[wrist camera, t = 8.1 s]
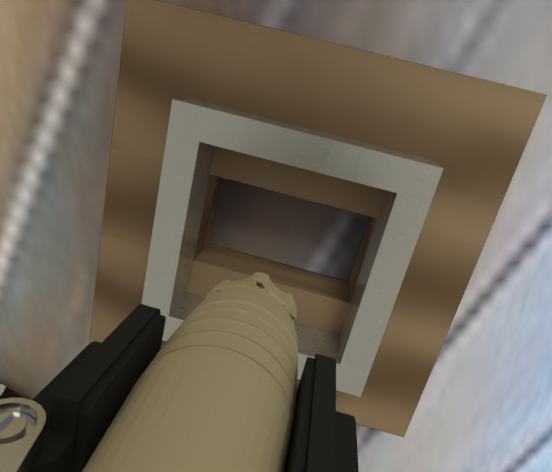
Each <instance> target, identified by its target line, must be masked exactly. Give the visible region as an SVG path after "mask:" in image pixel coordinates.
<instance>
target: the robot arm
mask: <svg viewBox="0 0 552 472" xmlns="http://www.w3.org/2000/svg"><path fill="white" fill-rule="evenodd" d="M160 314H161V312H160V309H158V308H154V307H151V306H147V305H144V304H139V305H138V306H137V307H136V308H135V309H134V310H133V311H132V312H131V313H130V314H129V315H128V316H127V317H126V318H125V319H124V320H123V321H122V322H121V323H120V324H119V325H118V326H117V327H116V329H115V330H114V331H113V332H112V333H111V334H110V335H109V336H108V337H107V338H106V339H105V340H104V341H103V342H102V343H101V342H97V341H93V342H91V343H90V344H89V345H88V346H87V347H86V348H85V349H84V350H83V351H82V352H81V353H80V354H79V355H77V356H76V357H75V358H74V359H73V360H72V361H71V362H70V363H69V364H68V365H67V366H66V367H65V368H64V369H63V370H62V371H61V372H60V373H59V374H58V375H57V376H56V377H55V378H54V379H53V380H52V381H51V382H50V383H49V384H48V385H47V386H46V387H45V388H44V389H43V390H42V391H41V392H40V393H39V394H38V395H37V396H36V397H35V398H34V399H33V400H29V399H26V398H5V399H0V472H82V471H83V469H84V467H85V466H86V464H87V463H88V461H89V459H90V458H91V456H92V454H93V453H94V451H95V449H96V448H97V446H98V444H99V443H100V441H101V439H102V438H103V436H104V434H105V433H106V431H107V429H108V428H109V426H110V424H111V423H112V421H113V420H114V418H115V416H116V415H117V413H118V411H119V410H120V408H121V406H122V405H123V403H124V401H125V400H126V398H127V396H128V395H129V393H130V391H131V390H132V388H133V386H134V385H135V383H136V382H137V380H138V379H139V378H140V376H141V375H142V374H143V372H144V371H145V370H146V368H147V367H148V366H149V364H150V363H151V362H152V360H153V359H154V357H155V356H156V355H157V353H158V352H159V351H160V349H161V344H162V338H163V333H164V327H165V321H166V317H165V316H163V315H160ZM284 472H358V455H357V437H356V421H355V417H354V416H352V415H349V414H345V413H342V412H338V411H336V359H334V358H330V357H327V356H323V355H320V354H316V355H315V358H311V357H307V359H306V362H305V366H304V369H303V372H302V376H301V379H300V382H299V385H298V389H297V395H296V405H295V410H294V420H293V427H292V430H291V440H290V446H289V450H288V455H287V459H286V464H285V469H284Z"/></svg>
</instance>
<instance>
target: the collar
mask: <svg viewBox="0 0 552 472" xmlns="http://www.w3.org/2000/svg"><path fill="white" fill-rule="evenodd" d="M215 146H218V147H222V148H225V149H229V150H233V151H237V152H241V153H245V154H249V155H252V156H256V157H260V158H264V159H268V160H272V161H275V162H279V163H283V164H287V165H291V166H295V167H299V168H302V169H306V170H310V171H314V172H318V173H322V174H325V175H329V176H333V177H337V178H341V179H345V180H348V181H352V182H356V183H360V184H364V185H368V186H372V187H375V188H379V189H383V190H387V191H386V194H385V197H384V200H383V203H382V206H381V209H380V212H379V215H378V218H377V221H376V224H375V227H374V230H373V233H372V237H371V240H370V243H369V246H368V249H367V252H366V255H365V258H364V261H363V264H362V267H361V270H360V273H359V276H358V280H357V283H356V286H355V289H354V292H353V295H352V298H351V301H350V304H349V307H348V310H347V313H346V316H345V319H344V322H343V326H342V329H341V332H340V334H337V333H334V332H330V331H327V330H323V329H320V328H316V327H312V326H309V325H305V324H302V323H298V322H295V321H294V326H295V331H296V337H297V343H298V379H299V380H300V379H301V376H302V372H303V369H304V366H305V362H306V359H307V357H311V358H315V355H316V354H320V355H323V356H327V357H330V358H334V359H336V390H337V391H341V392H344V393H348V394H351V395H355V396H358V397H361V394H362V392H363V389H364V386H365V383H366V381H367V378H368V375H369V372H370V370H371V367H372V364H373V361H374V359H375V356H376V353H377V350H378V348H379V345H380V342H381V339H382V337H383V334H384V331H385V328H386V326H387V323H388V320H389V317H390V315H391V312H392V309H393V306H394V303H395V301H396V298H397V295H398V292H399V290H400V287H401V284H402V281H403V279H404V276H405V273H406V270H407V268H408V265H409V262H410V259H411V257H412V254H413V251H414V248H415V246H416V243H417V240H418V237H419V235H420V232H421V229H422V226H423V224H424V221H425V218H426V215H427V213H428V210H429V207H430V204H431V202H432V199H433V196H434V193H435V191H436V188H437V185H438V182H439V180H440V177H441V174H442V171H443V169H444V168H442V167H441V166H439V165H438V164H436V163H435V162H433V161H431V160H430V159H427V158H423V157H419V156H415V155H411V154H407V153H403V152H399V151H395V150H391V149H387V148H383V147H380V146H376V145H372V144H368V143H364V142H360V141H356V140H352V139H348V138H344V137H340V136H336V135H332V134H328V133H325V132H321V131H317V130H313V129H309V128H305V127H301V126H297V125H293V124H289V123H285V122H281V121H277V120H274V119H270V118H266V117H262V116H258V115H254V114H250V113H246V112H242V111H238V110H234V109H230V108H226V107H222V106H219V105H215V104H211V103H207V102H203V101H199V100H195V99H172V105H171V112H170V118H169V125H168V131H167V138H166V145H165V151H164V158H163V164H162V171H161V178H160V184H159V191H158V197H157V204H156V211H155V217H154V224H153V230H152V237H151V244H150V250H149V257H148V264H147V270H146V277H145V283H144V290H143V297H142V303H141V304H144V305H147V306H151V307H154V308H158V309H160V312H161V314H160V315H163V316H165V317H166V321H165V327H164V333H163V338H162V340H164V341H167V340H168V339H169V338H170V336H171V335H172V334H173V333H174V332H175V331H176V330H177V328H178V327H179V326H180V325H181V324H182V322H183V321H184V320H185V319H186V318H187V317H188V316H189V315H190V314H191V313H192V312H193V311H194V310H195V309H196V308H197V307H198V306H199V305H200V304H201V303H202V302H203V301H204V298H205V296H202V295H198V294H195V293H191V292H188V287H189V282H190V277H191V271H192V266H193V261H194V255H195V250H196V245H197V239H198V234H199V229H200V223H201V218H202V213H203V207H204V202H205V197H206V192H207V186H208V181H209V176H210V170H211V165H212V160H213V154H214V149H215Z"/></svg>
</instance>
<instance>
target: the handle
mask: <svg viewBox="0 0 552 472" xmlns="http://www.w3.org/2000/svg"><path fill="white" fill-rule="evenodd" d="M296 318H297V308H296V303H295V301H294V298H293V296H292V295H291V294H290V293H285V292H283V291H281V290H280V289H278V288H277V287H276V286H275V285H274V284H273V283H272V281H271V280H270V277H269V275H267V274H265V273H261V272H255V273H254V274H253V275H252V276H250V277H248V278H245V279H243V280H238V281H230V280H224V281H222V282H221V283H219V284H218V285H216V286H215V287H214V288H213V289H212V290H211V291H210V292H209V293H208V294H207V296H206V297H205V298H204V301H203V302H202V303H201V304H200V305H199V306H198V307H197V308H196V309H195V310H194V311H193V312H192V313H191V314H190V315H189V316H188V317H187V318H186V319H185V320H184V321H183V322H182V324H181V325H180V326H179V327H178V328H177V330H176V331H175V332H174V333H173V334H172V335H171V336H170V338H169V339H168V340H167V341H166V343H165V344H164V345H163V347H162V348H161V349H160V351H159V352H158V353H157V355H156V356H155V357H154V359H153V360H152V362H151V363H150V364H149V366H148V367H147V368H146V370H145V371H144V372H143V374H142V375H141V376H140V378H139V379H138V380H137V382H136V383H135V385H134V386H133V388H132V390H131V391H130V393H129V395H128V396H127V398H126V400H125V401H124V403H123V405H122V406H121V408H120V410H119V411H118V413H117V415H116V416H115V418H114V420H113V421H112V423H111V424H110V426H109V428H108V429H107V431H106V433H105V434H104V436H103V438H102V439H101V441H100V443H99V444H98V446H97V448H96V449H95V451H94V453H93V454H92V456H91V458H90V459H89V461H88V463H87V464H86V466H85V467H84V469H83V471H82V472H284V469H285V464H286V459H287V455H288V450H289V446H290V440H291V430H292V427H293V420H294V410H295V405H296V395H297V379H298V343H297V337H296V331H295V326H294V320H295V319H296Z"/></svg>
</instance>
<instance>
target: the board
mask: <svg viewBox="0 0 552 472" xmlns="http://www.w3.org/2000/svg"><path fill="white" fill-rule="evenodd" d="M546 96H547V95H545V94H541V93H537V92H533V91H529V90H524V89H520V88H516V87H512V86H508V85H504V84H500V83H496V82H491V81H487V80H483V79H479V78H475V77H471V76H467V75H463V74H458V73H454V72H450V71H446V70H442V69H438V68H434V67H430V66H426V65H421V64H417V63H413V62H409V61H405V60H401V59H397V58H393V57H388V56H384V55H380V54H376V53H372V52H368V51H364V50H360V49H355V48H351V47H347V46H343V45H339V44H335V43H331V42H327V41H323V40H318V39H314V38H310V37H306V36H302V35H298V34H294V33H290V32H285V31H281V30H277V29H273V28H269V27H265V26H261V25H257V24H252V23H248V22H244V21H240V20H236V19H232V18H228V17H224V16H220V15H215V14H211V13H207V12H203V11H199V10H195V9H191V8H187V7H182V6H178V5H174V4H170V3H166V2H162V1H158V0H127V7H126V16H125V25H124V34H123V43H122V52H121V61H120V70H119V79H118V88H117V97H116V106H115V115H114V124H113V133H112V142H111V151H110V160H109V169H108V178H107V187H106V196H105V205H104V214H103V223H102V232H101V241H100V250H99V259H98V268H97V277H96V286H95V295H94V304H93V313H92V322H91V331H90V340H89V344H90V343H91V342H93V341H97V342H101V343H102V342H103V341H104V340H105V339H106V338H107V337H108V336H109V335H110V334H111V333H112V332H113V331H114V330H115V329H116V327H117V326H118V325H119V324H120V323H121V322H122V321H123V320H124V319H125V318H126V317H127V316H128V315H129V314H130V313H131V312H132V311H133V310H134V309H135V308H136V307H137V306H138V305H139V304H141V303H142V297H143V290H144V283H145V277H146V270H147V264H148V257H149V250H150V244H151V237H152V230H153V224H154V217H155V211H156V204H157V197H158V191H159V184H160V178H161V171H162V164H163V158H164V151H165V145H166V138H167V131H168V125H169V118H170V112H171V105H172V99H195V100H199V101H203V102H207V103H211V104H215V105H219V106H222V107H226V108H230V109H234V110H238V111H242V112H246V113H250V114H254V115H258V116H262V117H266V118H270V119H274V120H277V121H281V122H285V123H289V124H293V125H297V126H301V127H305V128H309V129H313V130H317V131H321V132H325V133H328V134H332V135H336V136H340V137H344V138H348V139H352V140H356V141H360V142H364V143H368V144H372V145H376V146H380V147H383V148H387V149H391V150H395V151H399V152H403V153H407V154H411V155H415V156H419V157H423V158H427V159H430V160H431V161H433V162H435V163H436V164H438V165H439V166H441V167H442V168H444V169H443V171H442V174H441V177H440V180H439V182H438V185H437V188H436V191H435V193H434V196H433V199H432V202H431V204H430V207H429V210H428V213H427V215H426V218H425V221H424V224H423V226H422V229H421V232H420V235H419V237H418V240H417V243H416V246H415V248H414V251H413V254H412V257H411V259H410V262H409V265H408V268H407V270H406V273H405V276H404V279H403V281H402V284H401V287H400V290H399V292H398V295H397V298H396V301H395V303H394V306H393V309H392V312H391V315H390V317H389V320H388V323H387V326H386V328H385V331H384V334H383V337H382V339H381V342H380V345H379V348H378V350H377V353H376V356H375V359H374V361H373V364H372V367H371V370H370V372H369V375H368V378H367V381H366V383H365V386H364V389H363V392H362V394H361V397H358V396H355V395H351V394H348V393H344V392H341V391H337V390H336V411H338V412H342V413H345V414H349V415H352V416H354V417H355V421H356V424H360V425H363V426H367V427H370V428H374V429H377V430H380V431H384V432H387V433H391V434H394V435H398V436H401V437H404V436H405V433H406V431H407V428H408V426H409V424H410V421H411V419H412V416H413V414H414V412H415V409H416V407H417V404H418V402H419V400H420V397H421V395H422V393H423V390H424V388H425V385H426V383H427V381H428V378H429V376H430V373H431V371H432V369H433V366H434V364H435V361H436V359H437V357H438V354H439V352H440V349H441V347H442V345H443V342H444V340H445V337H446V335H447V333H448V330H449V328H450V326H451V323H452V321H453V318H454V316H455V314H456V311H457V309H458V306H459V304H460V302H461V299H462V297H463V294H464V292H465V290H466V287H467V285H468V282H469V280H470V278H471V275H472V273H473V271H474V268H475V266H476V263H477V261H478V259H479V256H480V254H481V251H482V249H483V247H484V244H485V242H486V239H487V237H488V235H489V232H490V230H491V227H492V225H493V223H494V220H495V218H496V216H497V213H498V211H499V208H500V206H501V204H502V201H503V199H504V196H505V194H506V192H507V189H508V187H509V184H510V182H511V180H512V177H513V175H514V172H515V170H516V168H517V165H518V163H519V160H520V158H521V156H522V153H523V151H524V149H525V146H526V144H527V141H528V139H529V137H530V134H531V132H532V129H533V127H534V125H535V122H536V120H537V117H538V115H539V113H540V110H541V108H542V105H543V103H544V101H545V98H546ZM221 178H226V179H230V180H234V181H237V182H241V183H245V184H249V185H253V186H256V187H260V188H264V189H268V190H272V191H275V192H279V193H283V194H287V195H291V196H294V197H298V198H302V199H306V200H309V201H313V202H317V203H321V204H325V205H328V206H332V207H336V208H340V209H344V210H347V211H351V212H355V213H359V214H362V215H366V216H369V219H368V222H367V225H366V228H365V232H364V235H363V238H362V241H361V244H360V247H359V250H358V254H357V257H356V260H355V263H354V266H353V269H352V272H351V276H350V279H349V282H348V281H344V280H340V279H337V278H333V277H329V276H326V275H322V274H318V273H315V272H311V271H307V270H304V269H300V268H296V267H293V266H289V265H285V264H282V263H278V262H274V261H271V260H267V259H263V258H260V257H256V256H252V255H249V254H245V253H241V252H238V251H234V250H230V249H227V248H223V247H219V246H216V245H212V244H209V239H210V234H211V229H212V224H213V218H214V213H215V208H216V203H217V198H218V193H219V188H220V183H221ZM386 191H387V190H383V189H379V188H375V187H372V186H368V185H364V184H360V183H356V182H352V181H348V180H345V179H341V178H337V177H333V176H329V175H325V174H322V173H318V172H314V171H310V170H306V169H302V168H299V167H295V166H291V165H287V164H283V163H279V162H275V161H272V160H268V159H264V158H260V157H256V156H252V155H249V154H245V153H241V152H237V151H233V150H229V149H225V148H222V147H218V146H215V149H214V154H213V160H212V165H211V170H210V176H209V181H208V186H207V192H206V197H205V202H204V207H203V213H202V218H201V223H200V229H199V234H198V239H197V245H196V250H195V255H194V261H193V266H192V271H191V277H190V282H189V287H188V292H191V293H195V294H198V295H202V296H205V297H206V296H207V294H208V293H209V292H210V291H211V290H212V289H213V288H214V287H215V286H216V285H218V284H219V283H221V282H222V281H224V280H230V281H238V280H243V279H245V278H248V277H250V276H252V275H253V274H254V273H255V272H261V273H265V274H267V275H269V277H270V280H271V281H272V283H273V284H274V285H275V286H276V287H277V288H278V289H280V290H281V291H283V292H285V293H290V294H291V295H292V296H293V298H294V301H295V303H296V308H297V318H296V319H295V320H294V321H295V322H298V323H302V324H305V325H309V326H312V327H316V328H320V329H323V330H327V331H330V332H334V333H337V334H340V332H341V329H342V326H343V322H344V319H345V316H346V313H347V310H348V307H349V304H350V301H351V298H352V295H353V292H354V289H355V286H356V283H357V280H358V276H359V273H360V270H361V267H362V264H363V261H364V258H365V255H366V252H367V249H368V246H369V243H370V240H371V237H372V233H373V230H374V227H375V224H376V221H377V218H378V215H379V212H380V209H381V206H382V203H383V200H384V197H385V194H386ZM165 343H166V341H164V340H162V344H161V348H162V347H163V345H164V344H165ZM299 382H300V380H299V379H297V389H298V385H299Z"/></svg>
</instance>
